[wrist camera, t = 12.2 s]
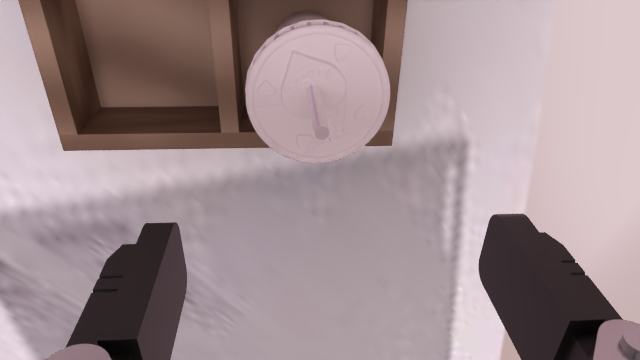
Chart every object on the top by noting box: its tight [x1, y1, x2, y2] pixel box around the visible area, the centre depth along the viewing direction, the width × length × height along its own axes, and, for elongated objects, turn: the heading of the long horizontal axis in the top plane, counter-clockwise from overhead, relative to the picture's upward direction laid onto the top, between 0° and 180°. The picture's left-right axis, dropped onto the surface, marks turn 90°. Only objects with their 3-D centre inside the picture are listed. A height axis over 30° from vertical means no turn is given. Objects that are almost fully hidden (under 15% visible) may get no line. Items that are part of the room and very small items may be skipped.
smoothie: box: [245, 10, 390, 163], centre depth 22 cm, size 6×6×14 cm
